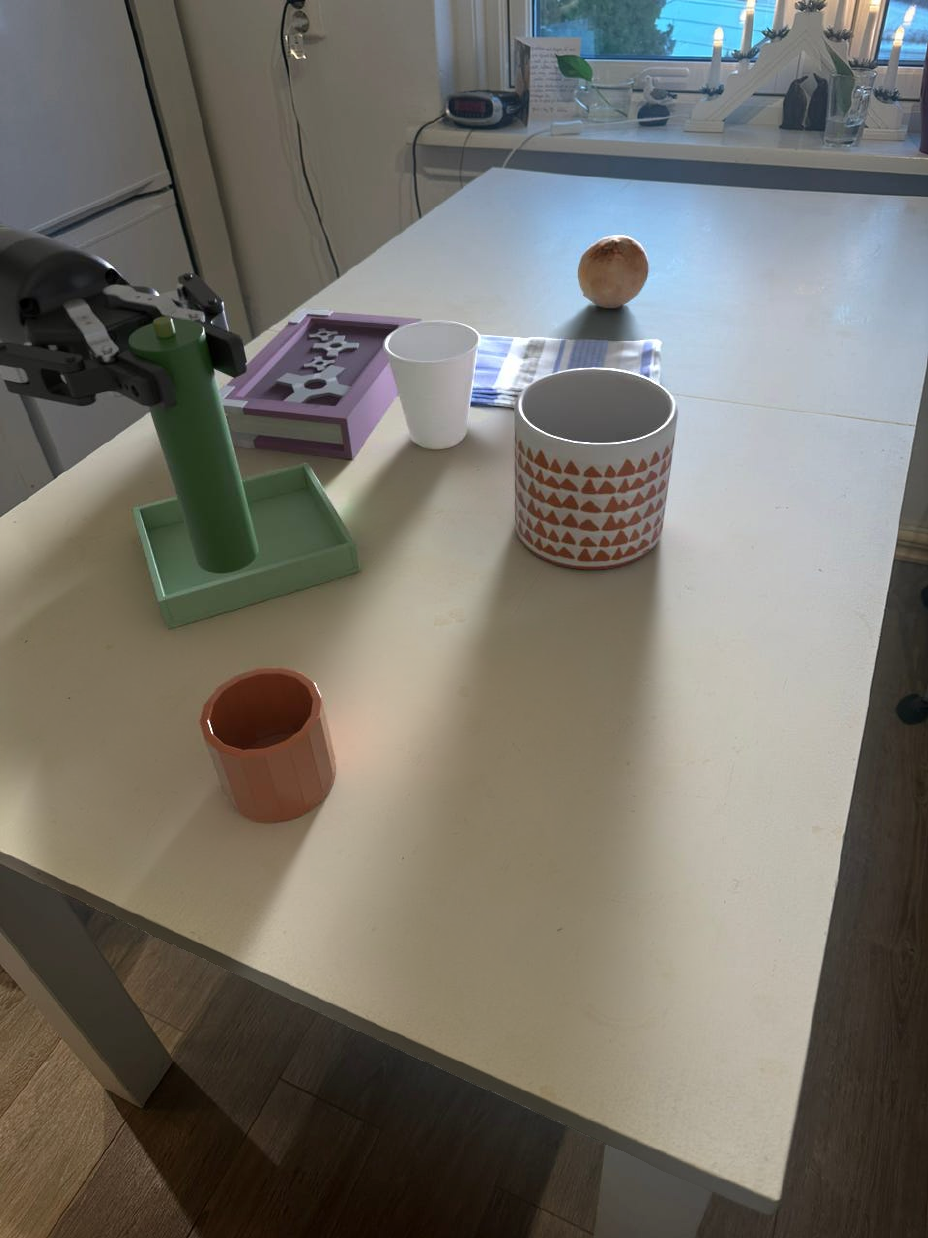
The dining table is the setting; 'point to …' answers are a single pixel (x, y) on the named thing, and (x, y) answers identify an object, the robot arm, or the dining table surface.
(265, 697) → the crock
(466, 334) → the cup
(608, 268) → the onion
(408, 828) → the dining table surface
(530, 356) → the dish towel
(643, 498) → the planter
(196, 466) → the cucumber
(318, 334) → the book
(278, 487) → the tray
